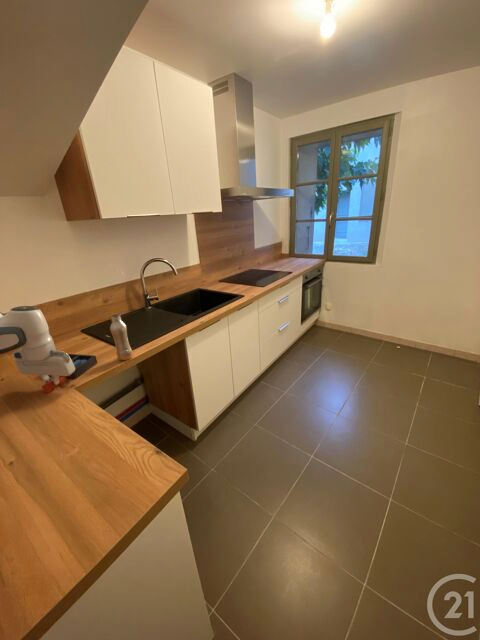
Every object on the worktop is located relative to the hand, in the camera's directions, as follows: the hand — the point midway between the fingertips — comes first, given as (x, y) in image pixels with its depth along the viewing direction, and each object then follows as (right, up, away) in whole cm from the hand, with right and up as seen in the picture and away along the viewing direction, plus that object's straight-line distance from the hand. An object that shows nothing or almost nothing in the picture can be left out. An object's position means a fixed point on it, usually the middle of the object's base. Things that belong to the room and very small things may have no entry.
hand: (52, 383), depth 96 cm
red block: (0, -1, +1) cm, 2 cm away
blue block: (+3, +4, +11) cm, 12 cm away
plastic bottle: (+19, +6, +19) cm, 27 cm away
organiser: (-1, +3, +12) cm, 13 cm away
